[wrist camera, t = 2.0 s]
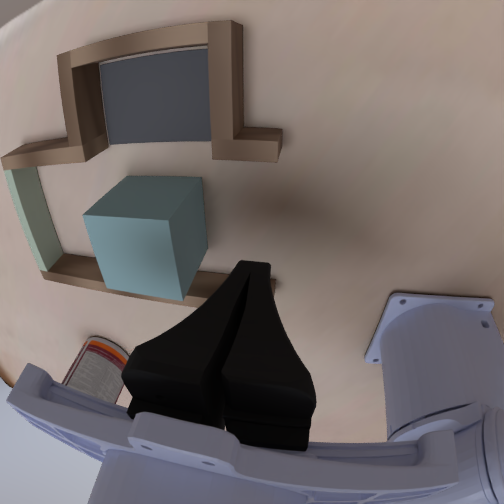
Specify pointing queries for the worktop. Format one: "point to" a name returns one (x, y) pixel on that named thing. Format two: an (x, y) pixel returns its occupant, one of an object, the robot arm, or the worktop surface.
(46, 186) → the worktop surface
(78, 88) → the brown frame
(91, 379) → the pill bottle
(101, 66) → the mat
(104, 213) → the teal block
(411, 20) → the worktop surface
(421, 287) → the worktop surface
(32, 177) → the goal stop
